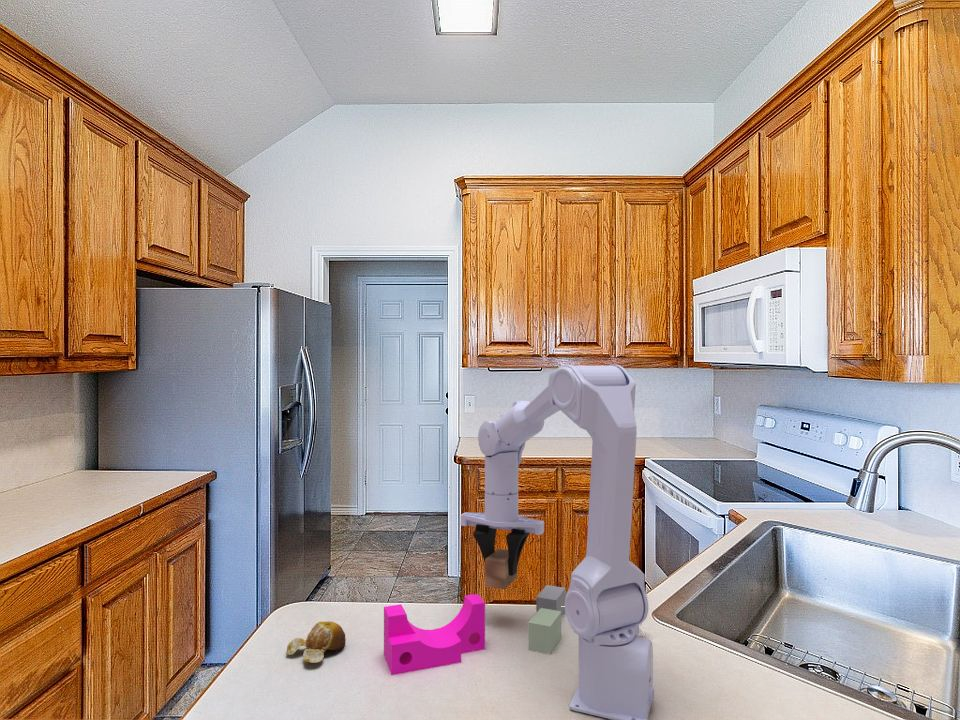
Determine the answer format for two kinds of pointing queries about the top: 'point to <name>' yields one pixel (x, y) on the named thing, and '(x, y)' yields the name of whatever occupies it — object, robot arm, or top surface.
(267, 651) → the top surface
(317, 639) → the fruit
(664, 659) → the top surface
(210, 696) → the top surface
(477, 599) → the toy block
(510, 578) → the walnut brick
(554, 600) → the slate brick
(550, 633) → the sage brick
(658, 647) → the top surface
